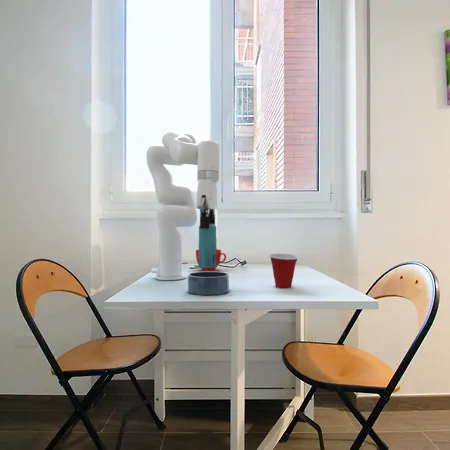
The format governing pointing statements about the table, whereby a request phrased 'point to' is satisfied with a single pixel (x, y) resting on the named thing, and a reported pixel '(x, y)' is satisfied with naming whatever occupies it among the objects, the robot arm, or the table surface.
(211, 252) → the beverage bottle
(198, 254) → the ceramic cup
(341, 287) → the table surface
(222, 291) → the blue-grey round bowl
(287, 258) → the plastic cup
